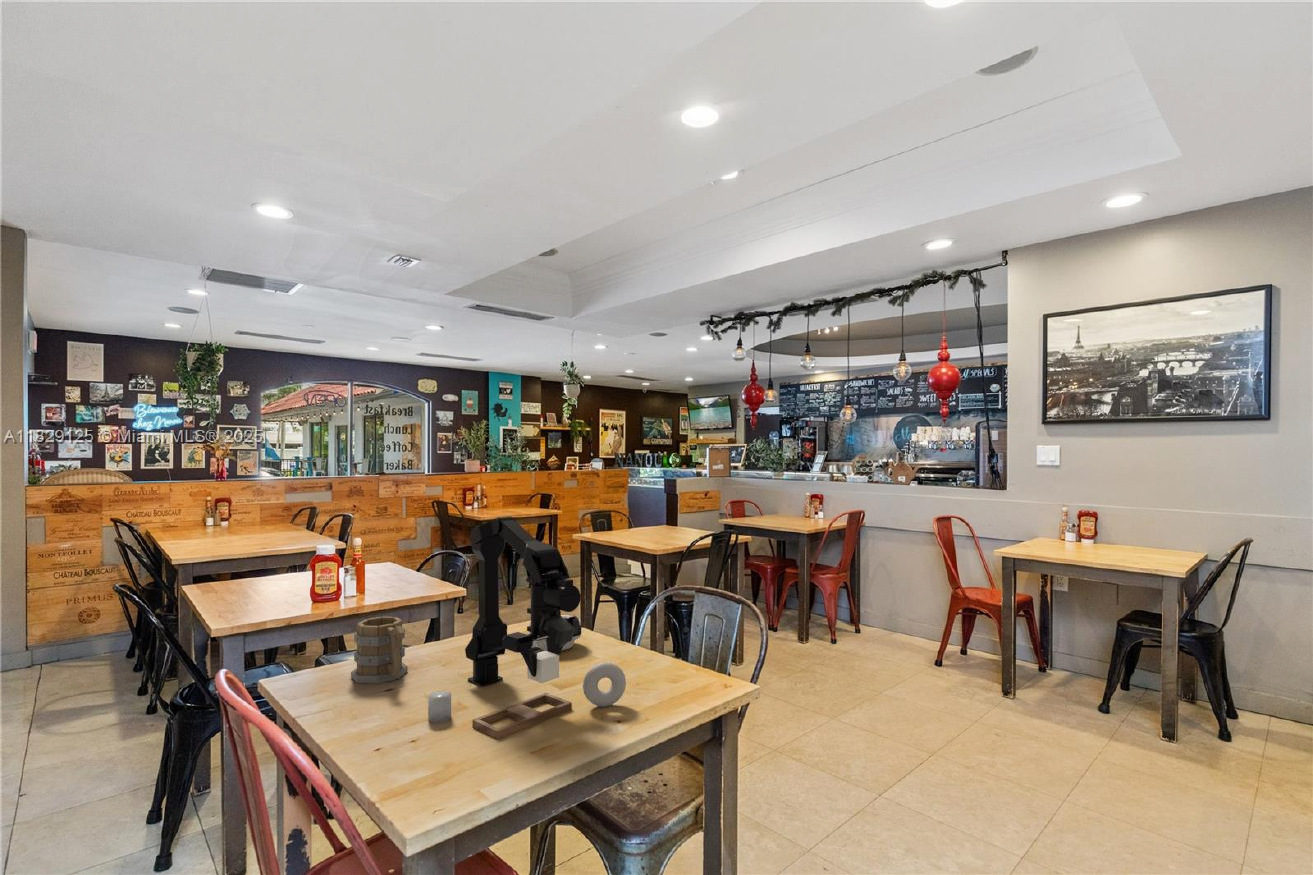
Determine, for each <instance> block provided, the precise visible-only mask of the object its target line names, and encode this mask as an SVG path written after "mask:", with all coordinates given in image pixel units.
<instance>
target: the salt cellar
mask: <svg viewBox="0 0 1313 875" xmlns="http://www.w3.org/2000/svg"><path fill="white" fill-rule="evenodd" d="M427 700H428V702H427V704H428V705H427V707H428V712H427V713H428V714H427V715H428V716H427V720H428V721H429V722H430V723H435V724H436V723H442V722H443V723H444V722H446V721H449V720H451V718H452V692H451V691H448V690H441V691H435V692H431V693H430V694H429V695H428V697H427Z"/></svg>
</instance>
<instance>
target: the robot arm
mask: <svg viewBox="0 0 1313 875" xmlns="http://www.w3.org/2000/svg"><path fill="white" fill-rule="evenodd" d="M469 540H470V544H471V550H472V552H473V554H474V555H475V557H476V558H477V560H478V618H477V620H476V622H475V624H474V626H473V627H472V635H471V636H472V637H471V640H469V642H468V643H467V645H466V647H465V648H464V651H465V652H464V653H465V657H466V659H468V660H471V661H472V676H470V677H468V678H467V681H468V682H470V683H472V684H473V683H474V684H476V685H478V686H480V687H483V686H486V685H490V684H493V683H497V682H499V681H503V679H504V678H503V676H500V675H499V656H501V655H502V656H503V655H505V653H506V650H507V651H511V652H513V653H517V654H520V655H521V657H522V658H523V660H524V662H525V664H526V666H527V670H528V669H529V671H530V673H531V675H532V676H533V677H535V676H536V672H537V653H539V652H540V651H541V648H538V646H537V644H536V641H539V640H543V639H546V642H547V651H548V652H551V653H554V654H557V655H559V656H560V655H561V652H562V651H561V650H562V648H563V646H564V645H565V644H566V643H567V642H570V641H572V637H575V636H579V635H582V624H581V625H580V624H579V619H580V618H579V617H578V616H576V615H572V616H573V617H569V618H562V617H561V615H562V614H561V611H563V612H566V613H572V612H573V611H575V610H576V609H577V608H578V606H579V605H580V603H581V600H582V599H581V598H582V595H581V593H580V589H579V588H578V587H577V586H575V585H574V580H573V579H571V578H570V575H569V570H568V568H567V566H566V564H565V562H564V559H563V557H562V555H561V552H560V551H559V550H558V548H556V547H555V546H554V545H551V544H549V543H547V542H546V543H545V542H542V541H539V540H537V538H535V537H533V535H532V534H531V533H529V532H528V531H527V530H526V529H525V528H524V527H523V526H521V524H519V523H518V522H517V521H516V518H515V517H514V516H510V515H509V516H500V517H498V516H497V517H495V518H493V519H491V520H490V521H488V522H484V523H482V524H479V525H475V526H474V527H473V529H472V530H471V531H470V534H469ZM506 543H508V544H509V545H510V546H511V547H512V549H514V550H515V551H516V553H518V554H519V555H520V556H521V558H522V565H523V566H524V568H525V569H526V571H527V572H528V573H529V574H530V575H529V576H527V578H526V579H525V581H526V582H527V583H530V607H527V608H526V613H527V614H530V622H531V626H530V625H527V626H526V631H527V632H528V633H529V634H528V633H527V634H526V633H523V632H520V631H516V632H512V633H508V625H507V623H505V622H504V621H503V620H502V618H501V617H500V594H499V593H500V588H499V586H500V584H499V577H500V576H499V559H500V557H501V555H502V554H503V552H504V549H505V546H506ZM530 632H531V634H530ZM537 636H538V637H537Z"/></svg>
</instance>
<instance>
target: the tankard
mask: <svg viewBox="0 0 1313 875" xmlns="http://www.w3.org/2000/svg"><path fill="white" fill-rule="evenodd" d="M405 637H406V630H405V628H404V627H403V619H402V618H399V617H397V616H378V617H377V616H376V617H372V618H366V619H363V620H361V621H359V622H358V623H357V624H356V632H354V637H353V639H354V641H353V642H354V643H355V644H356V651H354V652H353V654H354V655H353V656H354V657H353V661H354V662H355V663H356V668H355V669H353V670H352V671H350V678H351V679H352V680H354V681H355V682H356V683H357V684H374V685H377V684H382V683H387V682H390V681H395V680H398V679H400V678H401V677H403V675H405V674H406V673H408V671H409V670H408V669H409V668H408V667H409V666H408V665H407V664H405V663H403V658H404V657H405V655H406V652H405V651H406V650H405V647H404V646H403V639H405Z"/></svg>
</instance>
